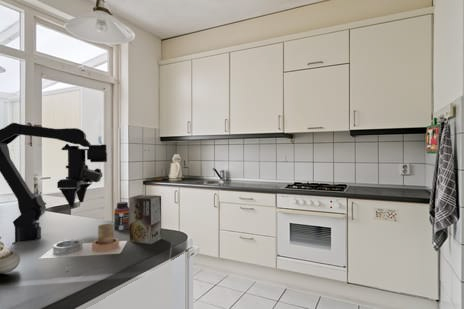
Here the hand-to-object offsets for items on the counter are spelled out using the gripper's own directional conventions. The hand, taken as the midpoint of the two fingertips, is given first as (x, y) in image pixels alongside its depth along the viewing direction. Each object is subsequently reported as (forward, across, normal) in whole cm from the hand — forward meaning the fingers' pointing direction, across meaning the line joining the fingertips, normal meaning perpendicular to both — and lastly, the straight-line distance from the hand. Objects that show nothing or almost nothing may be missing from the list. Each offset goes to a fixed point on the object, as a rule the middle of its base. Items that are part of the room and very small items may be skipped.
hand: (77, 204), depth 102 cm
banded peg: (+11, -18, -14) cm, 25 cm away
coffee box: (+12, -12, -26) cm, 31 cm away
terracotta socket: (+11, -18, -14) cm, 26 cm away
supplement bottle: (+12, +5, -15) cm, 20 cm away
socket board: (+12, -18, -9) cm, 23 cm away
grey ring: (+11, -18, -4) cm, 21 cm away
